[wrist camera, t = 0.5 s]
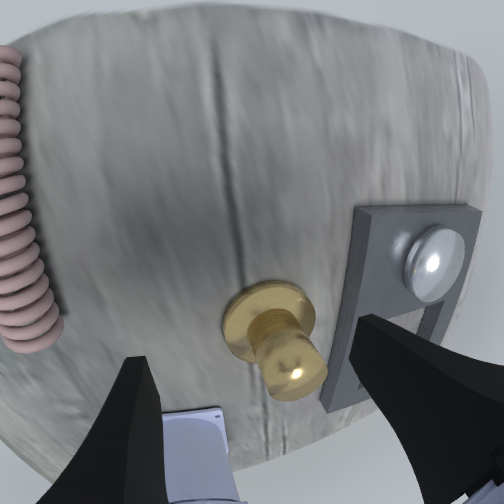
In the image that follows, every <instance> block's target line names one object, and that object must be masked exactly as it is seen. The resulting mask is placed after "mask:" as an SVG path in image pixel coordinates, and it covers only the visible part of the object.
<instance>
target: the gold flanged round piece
mask: <svg viewBox="0 0 504 504" xmlns="http://www.w3.org/2000/svg"><path fill="white" fill-rule="evenodd" d="M314 325H315V310H314V307H313V305H312V303H311V302H310V300H309V299H308V298H307V296H306V295H305V294H304V292H303V291H302V290H301V289H300V288H298V287H297V286H295V285H293V284H291V283H288V282H284V281H267V282H262V283H259V284H256V285H253V286H251V287H249V288H247V289H246V290H244V291H243V292H241V293H240V294H239V295H238V296H237V297H235V298H234V300H233V301H232V302H231V303H230V305H229V306H228V308H227V310H226V312H225V314H224V317H223V332H224V336H225V339H226V343H227V345H228V348H229V349H230V351H231V352H232V353H233V354H234V355H235V356H236V357H238V358H239V359H241V360H243V361H246V362H249V363H257V364H258V367H259V369H260V372H261V374H262V377H263V379H264V382H265V384H266V387H267V389H268V391H269V394H270V396H271V397H272V398H274V399H276V400H278V401H294V400H298V399H301V398H303V397H305V396H307V395H309V394H311V393H312V392H314V391H315V390H316V389H318V388H319V387H320V386H321V385H322V383H323V382H324V380H325V379H326V377H327V373H328V368H327V365H326V364H325V362H324V361H323V359H322V358H321V356H320V354H319V353H318V351H317V350H316V348H315V347H314V345H313V344H312V342H311V341H310V339H309V336H310V335H311V333H312V331H313V328H314Z"/></svg>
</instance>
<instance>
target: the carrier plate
mask: <svg viewBox="0 0 504 504" xmlns="http://www.w3.org/2000/svg"><path fill="white" fill-rule="evenodd" d="M481 215H482V211H481V210H478V209H476V208H474V207H471V206H469V205H393V206H363V207H355V210H354V219H353V228H352V236H351V244H350V252H349V259H348V265H347V272H346V278H345V285H344V290H343V296H342V302H341V307H340V313H339V318H338V323H337V328H336V333H335V338H334V342H333V347H332V351H331V356H330V360H329V365H328V373H327V377H326V379H325V381H324V385H323V389H322V393H321V396H320V402H321V403H322V405H323V407H324V409H325V410H326V412H327V414H328V413H331V412H334V411H337V410H340V409H343V408H346V407H349V406H351V405H354V404H357V403H360V402H362V401H365V400H367V399H370V398H371V396H370V395H369V393H368V392H367V391H366V389H365V388H364V386H363V385H362V383H361V382H360V380H359V379H358V377H357V375H356V373H355V371H354V369H353V367H352V365H351V363H350V361H349V359H348V358H349V355H350V351H351V347H352V343H353V338H354V334H355V330H356V325H357V321H358V317H361V316H365V315H368V314H374V315H377V316H379V317H381V318H383V319H389V318H392V317H395V316H398V315H402V314H405V313H408V312H411V311H414V310H417V309H420V308H423V307H426V306H427V307H426V310H425V313H424V316H423V319H422V321H421V324H420V327H419V330H418V332H417V336H420V337H422V338H424V339H426V340H428V341H430V342H432V343H434V344H436V345H439V346H440V344H441V342H442V339H443V337H444V335H445V332H446V330H447V328H448V325H449V323H450V320H451V318H452V315H453V312H454V310H455V307H456V304H457V302H458V299H459V296H460V293H461V290H462V287H463V284H464V281H465V278H466V275H467V271H468V268H469V264H470V261H471V257H472V254H473V250H474V246H475V242H476V238H477V234H478V229H479V225H480V220H481Z"/></svg>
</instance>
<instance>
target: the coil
mask: <svg viewBox="0 0 504 504" xmlns="http://www.w3.org/2000/svg"><path fill="white" fill-rule="evenodd" d="M21 62H22V56H21V53H20V52H19V51H18V50H16V49H15V48H13V47H9V46H3V45H0V96H4V98H2V99H0V115H1V116H0V196H2V195H5V194H7V193H10V192H12V191H16V190H19V189H21V188H23V187H24V186H25V184H26V179H25V177H24V176H23V175H16V176H11V177H7V178H4V177H6V176H9V175H11V174H14V173H16V172H18V171H19V170H21V169H22V167H23V163H24V162H23V160H22V158H20V157H12V156H14V155H16V154H17V153H19V151H20V150H21V148H22V143H21V141H20V140H19V139H17V138H14V137H16V136H17V135H18V134H19V132H20V129H21V126H20V123H19V122H18V121H16V120H15V119H16V118H17V117H18V115H19V113H20V107H19V105H18V104H17V103H16V101H17V100H18V98H19V96H20V89H19V87H18V86H17V84H18V83H19V81H20V78H21V73H20V70H19V69H18V68H19V67H20V65H21ZM7 63H9V64H7ZM4 79H7V80H6V81H2V80H4ZM2 178H3V179H2ZM28 200H29V197H28V195H27V194H26V193H18V194H15V195H12V196H9V197H7V198H4V199H1V200H0V216H1V215H4V216H2V217H0V333H1V334H2V337H3V340H4V342H5V344H6V345H7V346H8V347H9V348H10V349H12V350H13V351H15V352H18V353H33V352H37V351H40V350H43V349H45V348H47V347H49V346H50V345H52V344H53V343H54V342H55V341H56V340H57V339H58V338H59V337H60V335H61V334H62V331H63V328H64V321H63V318H62V317H61V316H60V315H59V309H58V305H57V304H56V303H55V302H54V301H53V300H54V295H53V292H52V290H51V289H50V288H49V287H48V285H49V279H48V277H47V276H46V274H45V273H43V270H44V263H43V261H42V260H41V259H40V258H38V255H39V253H40V249H39V246H38V244H37V243H35V242H32V241H33V240H34V238H35V236H36V233H35V230H34V228H33V227H31V226H26V225H27V224H29V223H30V221H31V219H32V214H31V212H30V211H29V210H19V211H16V210H18V209H20V208H22V207H24V206H25V205H27V203H28ZM13 211H15V212H13ZM10 212H12V213H10ZM7 213H9V214H7ZM5 214H7V215H5ZM24 270H26V271H24ZM20 271H24V272H22V273H20V274H17V275H15V276H12V275H14V274H16V273H18V272H20ZM10 276H12V277H10ZM8 277H9V278H8ZM33 283H35V284H34V285H33V286H30V287H26V286H27V285H29V284H33ZM24 287H26V288H24ZM21 288H24V289H22V290H20V291H18V292H16V293H14V294H13V295H10V296H8V295H9V294H10V293H12V292H14V291H16V290H19V289H21ZM39 297H42V298H39ZM38 298H39V299H38ZM13 309H15V310H14V311H13V312H11V311H12V310H13ZM47 310H48V311H47ZM38 317H39V320H37V321H36V322H34V323H31V324H29V325H25V326H19V327H15V325H21V324H25V323H28V322H30V321H33V320H35V319H37V318H38ZM51 326H52V327H51ZM50 327H51V328H50ZM49 328H50V329H49ZM48 329H49V330H48ZM46 330H48V331H47V332H46V333H45V334H43V335H41V336H39V337H37V338H35V339H31V340H25V339H29V338H33V337H35V336H38V335H40V334H42V333H43V332H45V331H46Z"/></svg>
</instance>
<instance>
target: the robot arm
mask: <svg viewBox="0 0 504 504" xmlns="http://www.w3.org/2000/svg"><path fill="white" fill-rule="evenodd" d="M348 359H349V361H350V363H351V365H352V367H353V369H354V371H355V373H356V375H357V377H358V379H359V380H360V382H361V383H362V385H363V386H364V388H365V389H366V391H367V392H368V393H369V395H370V396H371V398H372V399H373V401H374V402H375V403H376V405H377V406H378V407H379V409H380V410H381V412H382V413H383V414H384V416H385V417H386V419H387V420H388V422H389V423H390V425H391V426H392V428H393V429H394V431H395V433H396V435H397V437H398V438H399V440H400V442H401V444H402V446H403V448H404V450H405V452H406V454H407V456H408V459H409V461H410V463H411V465H412V468H413V470H414V473H415V475H416V478H417V481H418V483H419V487H420V490H421V493H422V497H423V500H424V504H451V503H452V502H454V501H455V500H457V499H458V498H459V497H461V496H462V495H463V494H464V493H466V495H467V496H468V498H469V499H467V500H466V501H465V502H464V503H463V504H504V366H502V365H497V364H492V363H488V362H484V361H479V360H476V359H473V358H470V357H467V356H464V355H461V354H458V353H456V352H453V351H450V350H448V349H446V348H443V347H441V346H439V345H436V344H434V343H432V342H430V341H428V340H426V339H424V338H422V337H420V336H417V335H415V334H413V333H411V332H409V331H407V330H405V329H404V328H402V327H400V326H398V325H396V324H394V323H392V322H390V321H388V320H385V319H383V318H381V317H379V316H377V315H374V314H368V315H365V316H361V317H358V321H357V325H356V330H355V334H354V338H353V343H352V347H351V351H350V355H349V358H348ZM228 452H229V451H228V445H227V438H226V432H225V425H224V418H223V412H222V409H221V408H211V409H204V410H196V411H188V412H179V413H169V414H162V411H161V403H160V396H159V393H158V391H157V388H156V385H155V383H154V380H153V377H152V374H151V371H150V368H149V365H148V362H147V359H146V356H137V357H127V358H126V359H125V360H124V362H123V365H122V367H121V369H120V371H119V374H118V376H117V378H116V380H115V382H114V384H113V387H112V389H111V391H110V393H109V395H108V397H107V399H106V401H105V403H104V405H103V407H102V409H101V411H100V413H99V415H98V417H97V418H96V420H95V422H94V424H93V425H92V427H91V429H90V431H89V433H88V434H87V436H86V438H85V440H84V441H83V443H82V444H81V446H80V448H79V449H78V451H77V452H76V454H75V455H74V457H73V458H72V460H71V461H70V463H69V464H68V465H67V467H66V468H65V469H64V471H63V472H62V473H61V475H60V476H59V477H58V479H57V480H56V481H55V483H54V484H53V485H52V486H51V487H50V489H49V490H48V491H47V492H46V493H45V494H44V495H43V496H42V497H41V498H40V500H39V501H38V502H37V503H36V504H248V503H247V501H244V502H241V501H240V498H239V495H238V491H237V488H236V484H235V481H234V477H233V474H232V470H231V467H230V463H229V459H228V456H227V454H228Z"/></svg>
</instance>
